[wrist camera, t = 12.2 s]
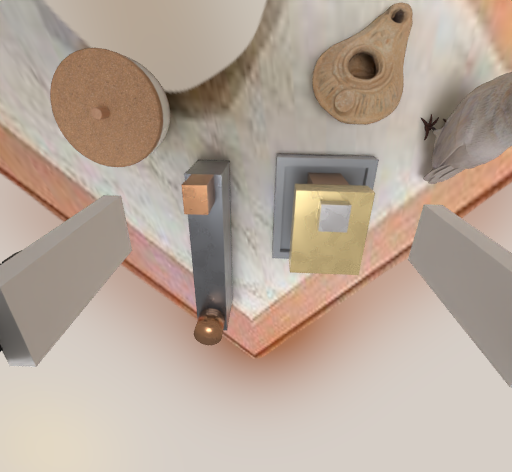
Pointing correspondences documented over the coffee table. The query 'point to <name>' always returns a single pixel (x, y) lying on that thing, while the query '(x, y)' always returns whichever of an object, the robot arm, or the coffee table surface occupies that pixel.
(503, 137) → the bird
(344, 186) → the lever cap
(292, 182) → the tray
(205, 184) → the plane
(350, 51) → the pottery oil lamp
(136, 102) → the lidded jar
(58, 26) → the coffee table surface
